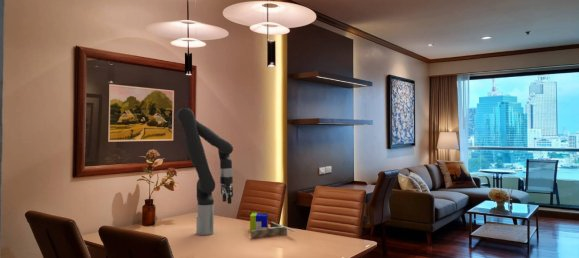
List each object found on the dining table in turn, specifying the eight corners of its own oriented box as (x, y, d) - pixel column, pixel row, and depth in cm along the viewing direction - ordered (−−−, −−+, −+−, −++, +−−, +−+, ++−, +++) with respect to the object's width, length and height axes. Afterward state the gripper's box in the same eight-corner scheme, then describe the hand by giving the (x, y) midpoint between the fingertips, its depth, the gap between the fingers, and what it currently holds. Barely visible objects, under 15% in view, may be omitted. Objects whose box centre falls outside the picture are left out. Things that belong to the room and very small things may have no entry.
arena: (261, 244, 220) (261, 234, 220) (240, 232, 245) (240, 224, 245) (296, 239, 230) (296, 230, 230) (273, 228, 255) (273, 221, 255)
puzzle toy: (266, 232, 245) (266, 216, 245) (250, 232, 246) (250, 215, 246) (268, 229, 255) (268, 212, 255) (251, 228, 256) (252, 212, 256)
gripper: (216, 175, 254) (217, 201, 254) (224, 177, 241) (225, 205, 241) (228, 174, 257) (228, 200, 257) (236, 176, 245) (237, 203, 245)
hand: (227, 202), depth 249 cm, fingers open, 8 cm apart
